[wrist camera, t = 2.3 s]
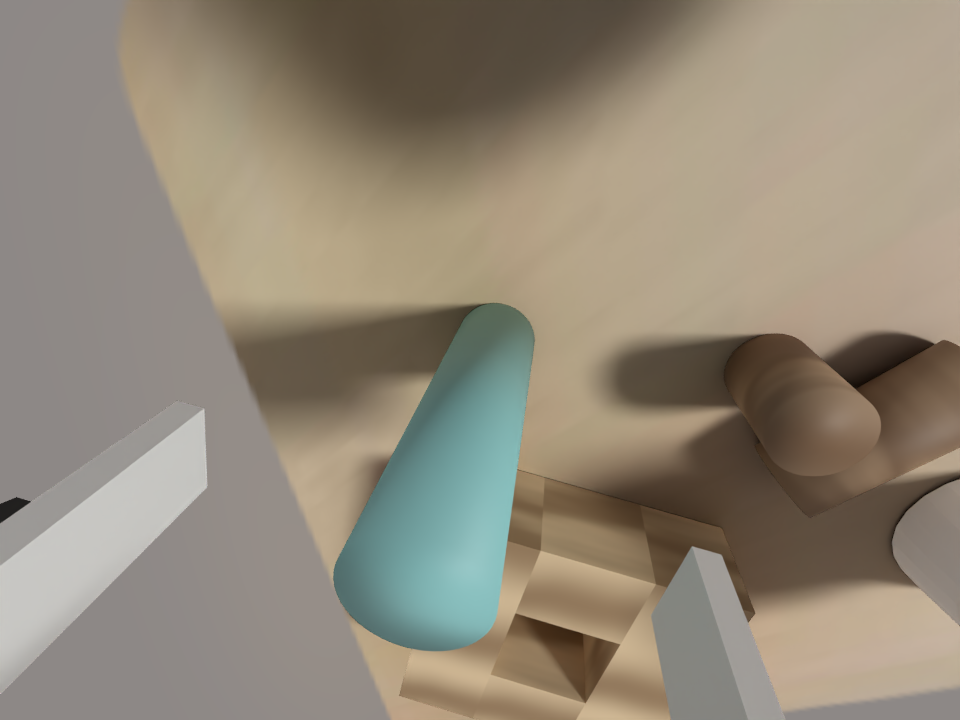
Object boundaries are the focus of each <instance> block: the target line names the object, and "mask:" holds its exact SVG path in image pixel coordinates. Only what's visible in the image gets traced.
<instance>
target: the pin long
mask: <svg viewBox="0 0 960 720" xmlns="http://www.w3.org/2000/svg"><path fill="white" fill-rule="evenodd" d="M534 342H535V339H534V332H533V329H532V326H531V324H530V322H529V321H528V320H527V318H526V317H525V316H524V315H523V314H522V313H521V312H519V311H518V310H516V309H515V308H513V307H511V306H508V305H505V304H499V303H490V304H485V305H482V306H479V307H477V308H475V309H474V310H472V311H471V312H470V313H469V314H468V315H467V316H466V317H465V318H464V320H463V321H462V323H461V325H460V327H459V329H458V331H457V333H456V335H455V337H454V339H453V341H452V342H451V344H450V346H449V348H448V350H447V352H446V354H445V356H444V358H443V360H442V361H441V363H440V365H439V367H438V369H437V371H436V373H435V375H434V377H433V379H432V380H431V382H430V384H429V386H428V388H427V390H426V392H425V394H424V396H423V398H422V400H421V401H420V403H419V405H418V407H417V409H416V411H415V413H414V415H413V417H412V419H411V420H410V422H409V424H408V426H407V428H406V430H405V432H404V434H403V436H402V438H401V439H400V441H399V443H398V445H397V447H396V449H395V451H394V453H393V455H392V457H391V458H390V460H389V462H388V464H387V466H386V468H385V470H384V472H383V474H382V476H381V478H380V479H379V481H378V483H377V485H376V487H375V489H374V491H373V493H372V495H371V497H370V498H369V500H368V502H367V504H366V506H365V508H364V510H363V512H362V514H361V516H360V517H359V519H358V521H357V523H356V525H355V527H354V529H353V531H352V533H351V535H350V537H349V538H348V540H347V542H346V544H345V546H344V548H343V550H342V552H341V554H340V556H339V557H338V560H337V562H336V564H335V568H334V576H333V580H334V587H335V590H336V593H337V595H338V598H339V600H340V602H341V603H342V605H343V606H344V608H345V609H346V610H347V612H348V613H349V614H350V615H351V616H352V617H353V618H354V619H355V620H356V621H357V622H358V623H359V624H360V625H362V626H363V627H364V628H366V629H367V630H369V631H370V632H372V633H373V634H375V635H377V636H379V637H380V638H382V639H384V640H387V641H389V642H391V643H394V644H397V645H400V646H403V647H407V648H411V649H416V650H422V651H450V650H455V649H460V648H463V647H466V646H469V645H471V644H473V643H475V642H477V641H478V640H480V639H481V638H482V637H484V636H485V635H486V634H487V633H488V632H489V630H490V629H491V628H492V626H493V624H494V622H495V620H496V616H497V612H498V605H499V597H500V590H501V583H502V576H503V568H504V561H505V554H506V547H507V539H508V532H509V525H510V518H511V510H512V503H513V496H514V488H515V481H516V474H517V467H518V459H519V452H520V445H521V438H522V430H523V423H524V416H525V408H526V401H527V394H528V387H529V379H530V372H531V365H532V358H533V350H534Z"/></svg>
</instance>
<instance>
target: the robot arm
mask: <svg viewBox="0 0 960 720" xmlns="http://www.w3.org/2000/svg"><path fill="white" fill-rule="evenodd" d="M206 488H207V467H206V438H205V410H204V408H202V407H199V406H195V405H191V404H188V403H184V402H181V401H178V400H177V401H175V402H174V403H173V404H171V405H170V406H168V407H167V408H165V409H164V410H163V411H161V412H160V413H158V414H157V415H155V416H154V417H152V418H151V419H150V420H148V421H147V422H145V423H144V424H142V425H141V426H140V427H138V428H137V429H135V430H134V431H132V432H131V433H130V434H128V435H127V436H125V437H124V438H123V439H121V440H119V441H118V442H117V443H115V444H114V445H112V446H111V447H109V448H108V449H106V450H105V451H104V452H102V453H101V454H99V455H98V456H97V457H95V458H94V459H92V460H91V461H89V462H88V463H86V464H85V465H84V466H82V467H81V468H79V469H78V470H76V471H75V472H74V473H72V474H71V475H69V476H68V477H66V478H65V479H63V480H62V481H61V482H59V483H58V484H56V485H55V486H53V487H52V488H50V489H49V490H48V491H46V492H45V493H43V494H42V495H41V496H39V497H38V498H36V499H35V500H33V501H32V502H31V501H27V500H24V499H20V498H17V497H16V498H14V499H11V500H9V501H7V502H4V503H1V504H0V694H1V693H2V692H3V691H4V690H5V689H6V688H7V687H8V686H9V685H10V684H11V683H12V682H13V681H14V680H15V679H16V678H17V677H18V676H19V675H20V674H21V673H22V672H23V671H24V670H25V669H26V668H27V667H28V666H29V665H30V664H31V663H32V662H33V661H34V660H35V659H36V658H37V657H38V656H39V655H40V654H41V653H42V652H43V651H44V650H45V649H46V648H47V647H48V646H49V645H50V644H51V643H52V642H53V641H54V640H55V639H56V638H57V637H58V636H59V635H60V634H61V633H62V632H63V631H64V630H65V629H66V628H67V627H68V626H69V625H70V624H71V623H72V622H73V621H74V620H75V619H76V618H77V617H78V616H79V615H80V614H81V613H82V612H83V611H84V610H85V609H86V608H87V607H88V606H89V605H90V604H91V603H92V602H93V601H94V600H95V599H96V598H97V597H98V596H99V595H100V594H101V593H102V592H103V591H104V590H105V589H106V588H107V587H108V586H109V585H110V584H111V583H112V582H113V581H114V580H115V579H116V578H117V577H118V576H119V575H120V574H121V573H122V572H123V571H124V570H125V569H126V568H127V567H128V566H129V565H130V564H131V563H132V562H133V561H134V560H135V559H136V558H137V557H138V556H139V555H140V554H141V553H142V552H143V551H144V550H145V549H146V548H147V547H148V546H149V545H150V544H151V543H152V542H153V541H154V540H155V539H156V538H157V537H158V536H159V535H160V534H161V533H162V532H163V531H164V530H165V529H166V528H167V527H168V526H169V525H170V524H171V523H172V522H173V521H174V520H175V519H176V518H177V517H178V516H179V515H180V514H181V513H182V512H183V511H184V510H185V509H186V507H188V506H189V505H190V504H191V503H192V502H193V500H195V499H196V498H197V497H198V496H199V495H200V494H201V493H202V492H203V490H205V489H206ZM651 618H652V624H653V629H654V634H655V639H656V645H657V650H658V655H659V660H660V665H661V671H662V676H663V681H664V686H665V692H666V697H667V702H668V707H669V712H670V718H671V720H785V717H784V715H783V712H782V710H781V707H780V704H779V702H778V699H777V697H776V694H775V691H774V689H773V686H772V684H771V681H770V679H769V676H768V673H767V671H766V668H765V666H764V663H763V660H762V658H761V655H760V653H759V650H758V648H757V645H756V642H755V640H754V637H753V635H752V632H751V629H750V627H749V624H748V622H747V619H746V617H745V614H744V611H743V609H742V606H741V604H740V601H739V599H738V596H737V593H736V591H735V588H734V586H733V583H732V580H731V578H730V575H729V573H728V570H727V568H726V565H725V562H724V560H723V557H722V555H721V554H717V553H714V552H710V551H707V550H703V549H700V548H696V547H693V546H692V547H691V549H690V550H689V552H688V554H687V556H686V557H685V559H684V561H683V562H682V564H681V566H680V567H679V569H678V571H677V572H676V574H675V576H674V577H673V579H672V581H671V582H670V584H669V586H668V587H667V589H666V591H665V592H664V594H663V596H662V597H661V599H660V601H659V602H658V604H657V606H656V607H655V609H654V611H653V613H652V614H651Z"/></svg>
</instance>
